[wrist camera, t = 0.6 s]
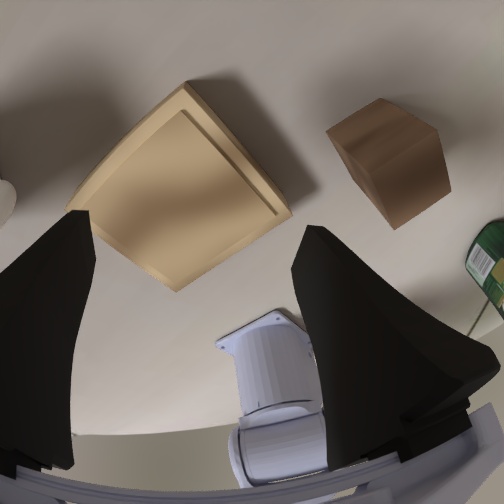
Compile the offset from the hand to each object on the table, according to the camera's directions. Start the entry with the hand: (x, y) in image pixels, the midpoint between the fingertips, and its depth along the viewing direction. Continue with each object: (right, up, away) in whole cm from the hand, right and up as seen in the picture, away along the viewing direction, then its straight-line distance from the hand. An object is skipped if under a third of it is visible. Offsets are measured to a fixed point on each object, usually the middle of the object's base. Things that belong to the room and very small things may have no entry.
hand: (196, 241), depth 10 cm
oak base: (-3, +4, +9) cm, 10 cm away
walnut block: (+10, +7, +9) cm, 15 cm away
